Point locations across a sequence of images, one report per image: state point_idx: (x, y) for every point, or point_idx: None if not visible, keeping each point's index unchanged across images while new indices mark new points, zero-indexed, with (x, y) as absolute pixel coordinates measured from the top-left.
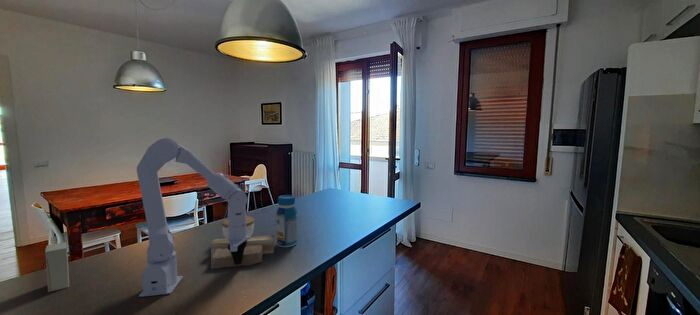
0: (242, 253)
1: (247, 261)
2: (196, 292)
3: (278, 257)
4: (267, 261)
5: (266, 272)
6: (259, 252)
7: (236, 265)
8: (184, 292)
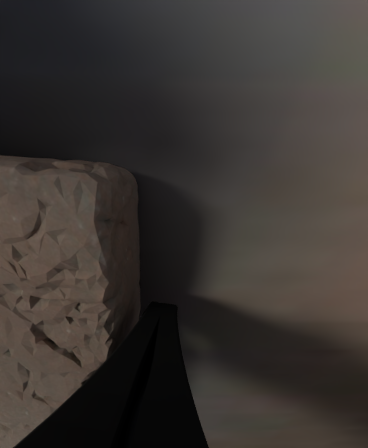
0: (194, 404)
1: (134, 266)
2: (328, 420)
3: (47, 7)
4: (112, 120)
5: (296, 131)
6: (89, 190)
7: (140, 307)
8: (305, 443)
